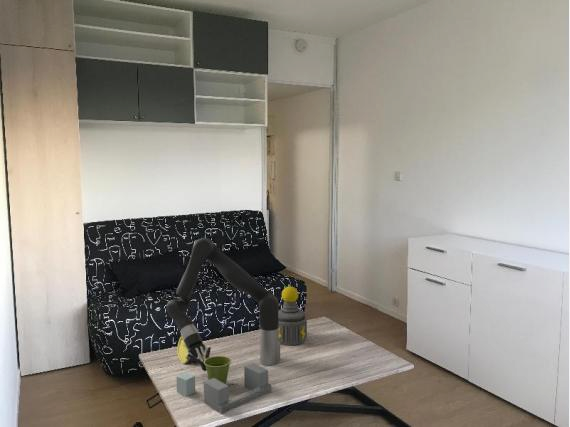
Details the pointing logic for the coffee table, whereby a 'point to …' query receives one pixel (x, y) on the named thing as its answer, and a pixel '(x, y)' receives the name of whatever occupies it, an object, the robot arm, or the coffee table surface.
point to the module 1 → (185, 384)
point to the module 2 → (215, 393)
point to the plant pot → (217, 367)
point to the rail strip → (244, 398)
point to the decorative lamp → (291, 319)
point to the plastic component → (182, 351)
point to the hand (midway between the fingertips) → (206, 369)
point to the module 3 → (255, 376)
